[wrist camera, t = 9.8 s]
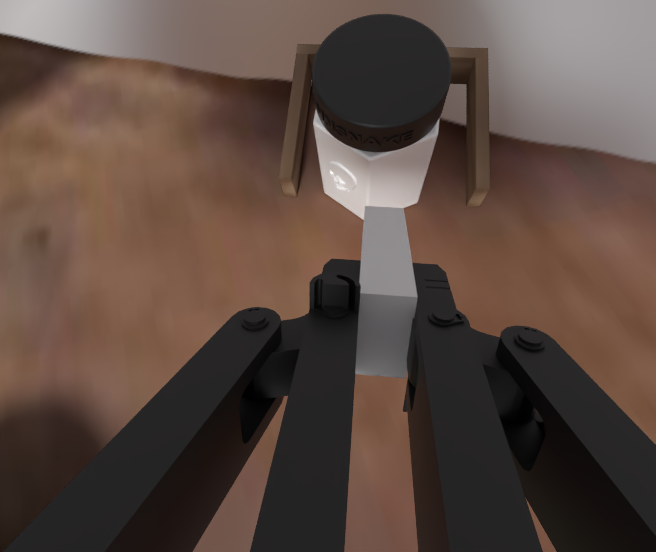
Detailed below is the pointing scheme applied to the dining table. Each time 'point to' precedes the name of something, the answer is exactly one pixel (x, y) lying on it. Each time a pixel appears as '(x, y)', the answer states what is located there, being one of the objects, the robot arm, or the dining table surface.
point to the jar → (378, 109)
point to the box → (465, 70)
